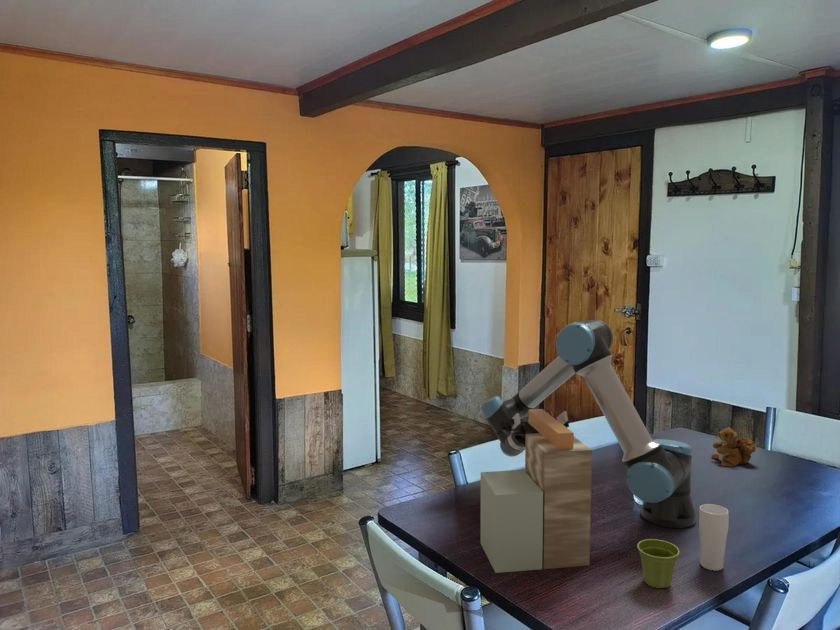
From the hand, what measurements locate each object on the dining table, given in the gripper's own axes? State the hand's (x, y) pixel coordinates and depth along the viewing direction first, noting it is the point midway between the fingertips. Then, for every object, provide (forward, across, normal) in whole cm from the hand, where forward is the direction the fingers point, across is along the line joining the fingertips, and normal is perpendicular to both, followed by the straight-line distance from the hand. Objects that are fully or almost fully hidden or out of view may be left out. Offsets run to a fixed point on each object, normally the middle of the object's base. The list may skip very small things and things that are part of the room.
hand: (542, 416), depth 173 cm
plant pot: (+9, -19, -44) cm, 49 cm away
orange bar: (+3, 0, -6) cm, 6 cm away
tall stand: (-7, 0, -35) cm, 35 cm away
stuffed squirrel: (-56, -89, -6) cm, 106 cm away
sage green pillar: (-7, +12, -35) cm, 37 cm away
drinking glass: (+4, -36, -42) cm, 55 cm away
